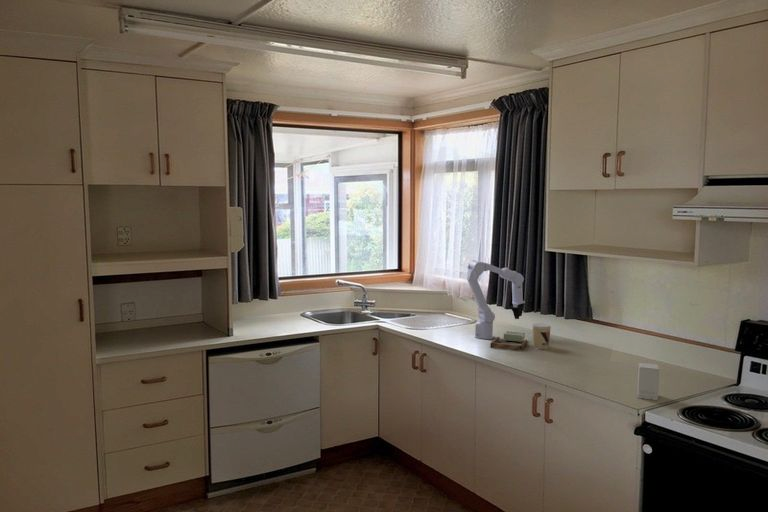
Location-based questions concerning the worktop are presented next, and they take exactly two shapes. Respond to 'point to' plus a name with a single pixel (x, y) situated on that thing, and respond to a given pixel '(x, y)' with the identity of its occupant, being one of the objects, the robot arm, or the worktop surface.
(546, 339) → the coffee cup
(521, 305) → the robot arm
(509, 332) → the green block
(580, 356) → the worktop surface
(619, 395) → the worktop surface
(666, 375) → the worktop surface
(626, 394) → the worktop surface
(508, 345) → the wooden tray
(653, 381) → the supplement box
